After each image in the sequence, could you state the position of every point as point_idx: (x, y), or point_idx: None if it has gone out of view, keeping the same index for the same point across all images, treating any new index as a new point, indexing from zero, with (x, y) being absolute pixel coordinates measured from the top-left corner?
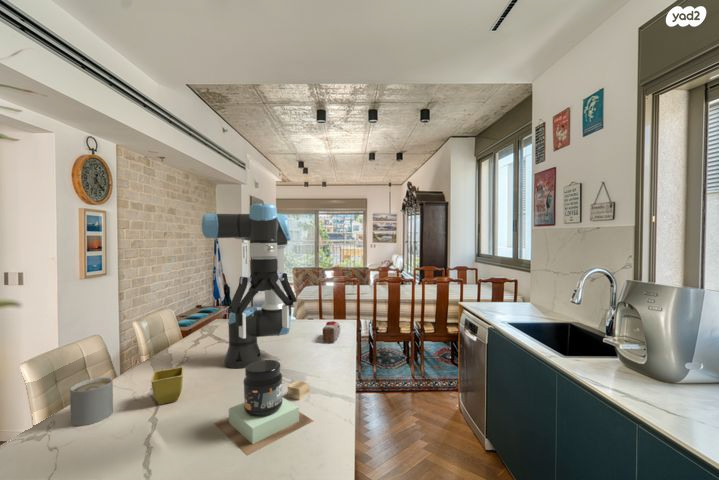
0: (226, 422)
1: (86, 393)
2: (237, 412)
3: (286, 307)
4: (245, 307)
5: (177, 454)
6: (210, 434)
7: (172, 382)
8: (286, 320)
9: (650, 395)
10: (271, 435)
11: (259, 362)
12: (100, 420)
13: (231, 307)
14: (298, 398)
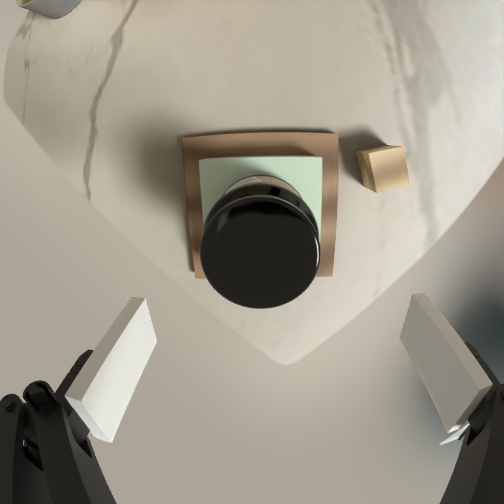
0: (202, 154)
1: (26, 7)
2: (207, 193)
3: (446, 423)
4: (97, 475)
5: (119, 179)
6: (173, 155)
7: None
8: (416, 360)
9: None
10: None
11: (265, 221)
12: (69, 12)
13: (11, 425)
14: (367, 185)
